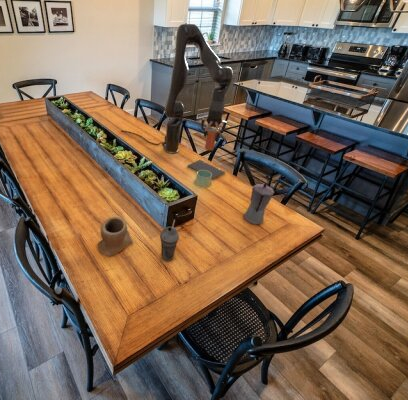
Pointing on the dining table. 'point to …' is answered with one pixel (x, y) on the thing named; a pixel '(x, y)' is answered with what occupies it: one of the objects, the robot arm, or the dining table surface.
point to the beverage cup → (169, 242)
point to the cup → (203, 178)
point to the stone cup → (114, 236)
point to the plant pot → (210, 139)
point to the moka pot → (258, 203)
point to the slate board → (206, 168)
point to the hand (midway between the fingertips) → (211, 137)
